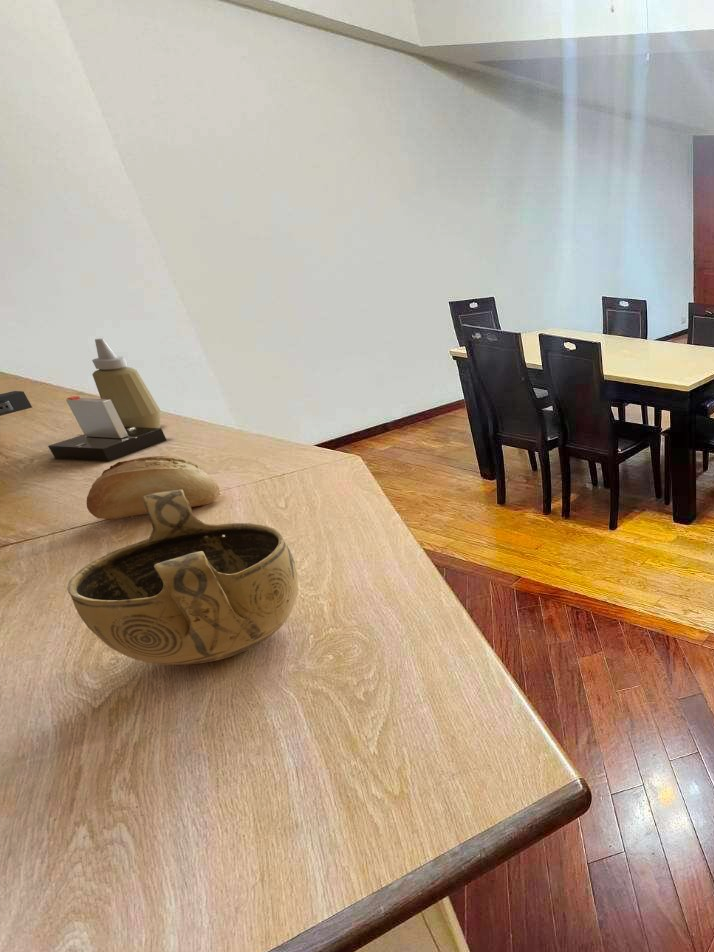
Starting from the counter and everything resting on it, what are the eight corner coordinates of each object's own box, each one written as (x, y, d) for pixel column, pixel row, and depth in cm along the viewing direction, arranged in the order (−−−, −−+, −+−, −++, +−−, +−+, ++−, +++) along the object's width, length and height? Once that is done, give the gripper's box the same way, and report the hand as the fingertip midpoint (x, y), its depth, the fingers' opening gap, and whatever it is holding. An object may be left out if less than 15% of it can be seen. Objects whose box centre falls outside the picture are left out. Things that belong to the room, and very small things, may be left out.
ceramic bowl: (340, 659, 63) (293, 536, 56) (124, 740, 53) (31, 602, 45) (294, 576, 77) (251, 468, 69) (116, 626, 66) (44, 506, 59)
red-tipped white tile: (128, 436, 112) (110, 398, 108) (120, 438, 110) (101, 400, 107) (93, 433, 112) (73, 395, 108) (85, 436, 110) (64, 398, 107)
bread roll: (97, 511, 90) (69, 462, 86) (220, 488, 99) (200, 442, 95) (95, 534, 84) (65, 482, 80) (226, 507, 93) (206, 460, 89)
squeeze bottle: (158, 421, 127) (118, 334, 118) (174, 428, 123) (134, 339, 114) (108, 430, 121) (62, 339, 112) (124, 438, 117) (78, 344, 108)
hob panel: (112, 461, 107) (105, 447, 106) (51, 458, 107) (43, 444, 106) (169, 440, 117) (164, 427, 116) (114, 437, 117) (108, 424, 116)
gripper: (-199, 470, 79) (-2, 419, 100) (-104, 476, 79) (73, 423, 100) (-242, 416, 76) (-29, 374, 96) (-143, 421, 76) (50, 378, 96)
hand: (23, 399), depth 98 cm, fingers closed
